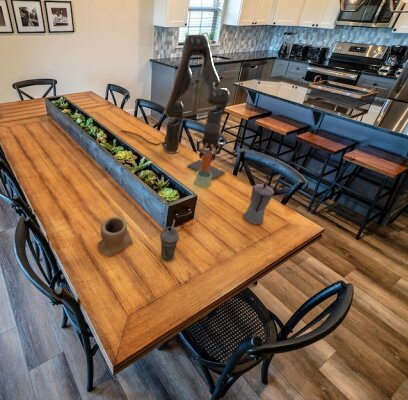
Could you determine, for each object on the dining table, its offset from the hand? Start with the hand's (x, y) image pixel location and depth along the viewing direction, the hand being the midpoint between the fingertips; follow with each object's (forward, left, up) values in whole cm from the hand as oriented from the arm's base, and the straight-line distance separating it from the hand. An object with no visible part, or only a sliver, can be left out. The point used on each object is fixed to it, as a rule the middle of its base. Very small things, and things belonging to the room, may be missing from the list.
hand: (206, 159), depth 146 cm
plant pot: (0, 0, -7) cm, 7 cm away
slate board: (-8, +13, -16) cm, 22 cm away
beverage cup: (+26, -55, -16) cm, 63 cm away
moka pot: (+37, -6, -16) cm, 41 cm away
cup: (0, 0, -16) cm, 16 cm away
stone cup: (+8, -67, -16) cm, 69 cm away
